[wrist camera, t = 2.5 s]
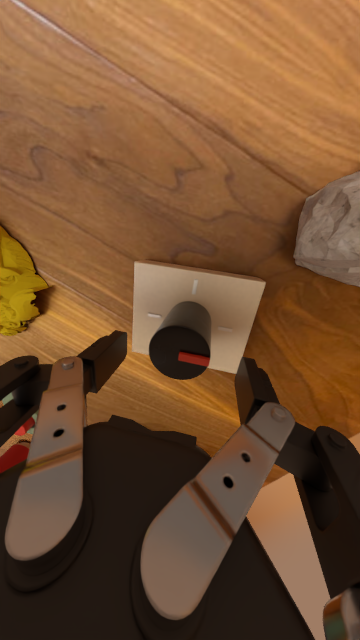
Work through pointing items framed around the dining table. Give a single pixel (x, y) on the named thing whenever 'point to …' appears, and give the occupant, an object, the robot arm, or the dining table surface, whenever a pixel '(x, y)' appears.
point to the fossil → (332, 231)
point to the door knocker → (16, 286)
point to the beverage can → (14, 455)
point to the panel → (201, 287)
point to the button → (25, 427)
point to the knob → (182, 342)
